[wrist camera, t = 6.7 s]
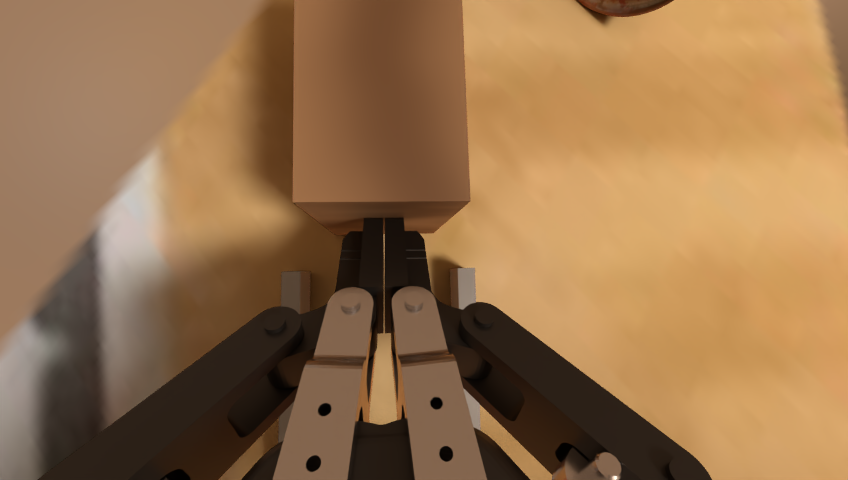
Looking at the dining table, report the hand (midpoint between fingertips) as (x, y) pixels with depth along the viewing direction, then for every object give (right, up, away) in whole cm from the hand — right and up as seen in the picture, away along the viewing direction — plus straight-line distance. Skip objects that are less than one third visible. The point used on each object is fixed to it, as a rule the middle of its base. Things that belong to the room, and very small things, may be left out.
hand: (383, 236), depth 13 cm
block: (-1, +5, +5) cm, 7 cm away
